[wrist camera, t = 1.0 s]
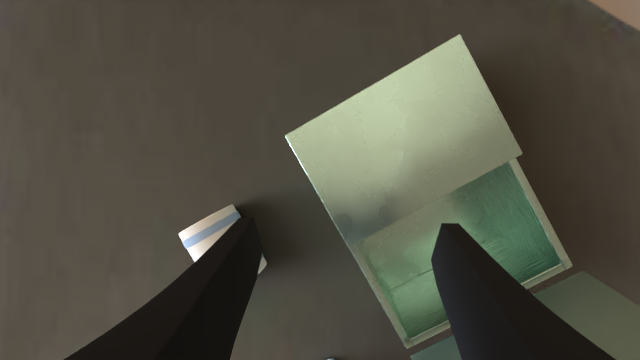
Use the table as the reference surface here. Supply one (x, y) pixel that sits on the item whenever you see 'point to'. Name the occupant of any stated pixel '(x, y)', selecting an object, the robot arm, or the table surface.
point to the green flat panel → (578, 318)
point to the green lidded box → (425, 183)
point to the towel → (210, 233)
